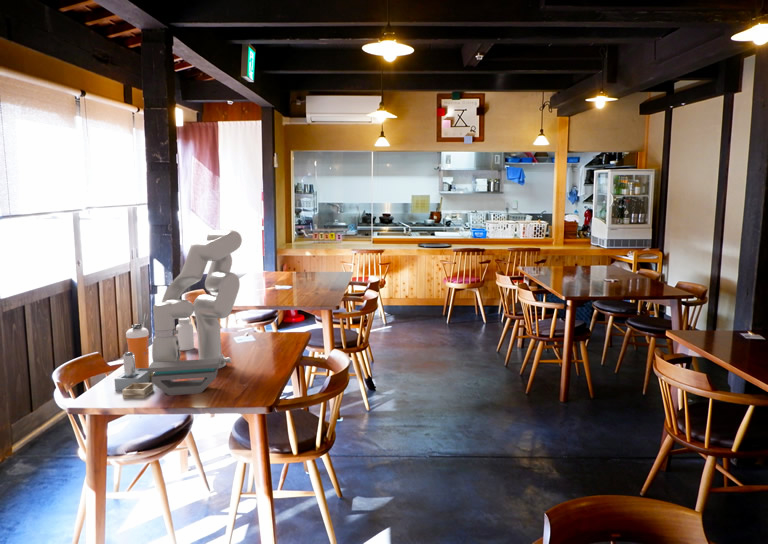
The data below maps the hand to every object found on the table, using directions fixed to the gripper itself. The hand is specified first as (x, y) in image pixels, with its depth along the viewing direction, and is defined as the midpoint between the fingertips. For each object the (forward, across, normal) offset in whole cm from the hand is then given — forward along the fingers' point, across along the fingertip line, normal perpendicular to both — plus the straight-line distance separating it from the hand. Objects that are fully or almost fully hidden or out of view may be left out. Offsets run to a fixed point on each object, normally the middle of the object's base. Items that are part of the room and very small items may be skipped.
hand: (167, 377), depth 237 cm
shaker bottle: (+1, +16, -12) cm, 20 cm away
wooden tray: (+1, +5, +16) cm, 17 cm away
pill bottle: (+1, +10, -49) cm, 50 cm away
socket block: (+1, +11, +5) cm, 12 cm away
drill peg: (+1, +11, +8) cm, 14 cm away
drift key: (+1, +6, 0) cm, 6 cm away
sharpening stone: (+1, -12, +13) cm, 18 cm away
